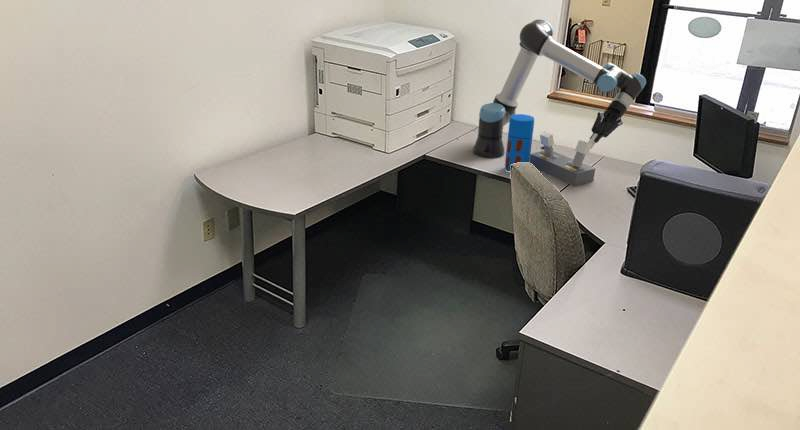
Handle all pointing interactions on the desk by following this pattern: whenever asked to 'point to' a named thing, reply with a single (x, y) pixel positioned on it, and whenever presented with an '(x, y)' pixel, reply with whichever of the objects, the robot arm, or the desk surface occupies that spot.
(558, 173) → the switch box
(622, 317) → the desk surface
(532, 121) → the thermos
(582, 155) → the outer lever
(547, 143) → the inner lever
